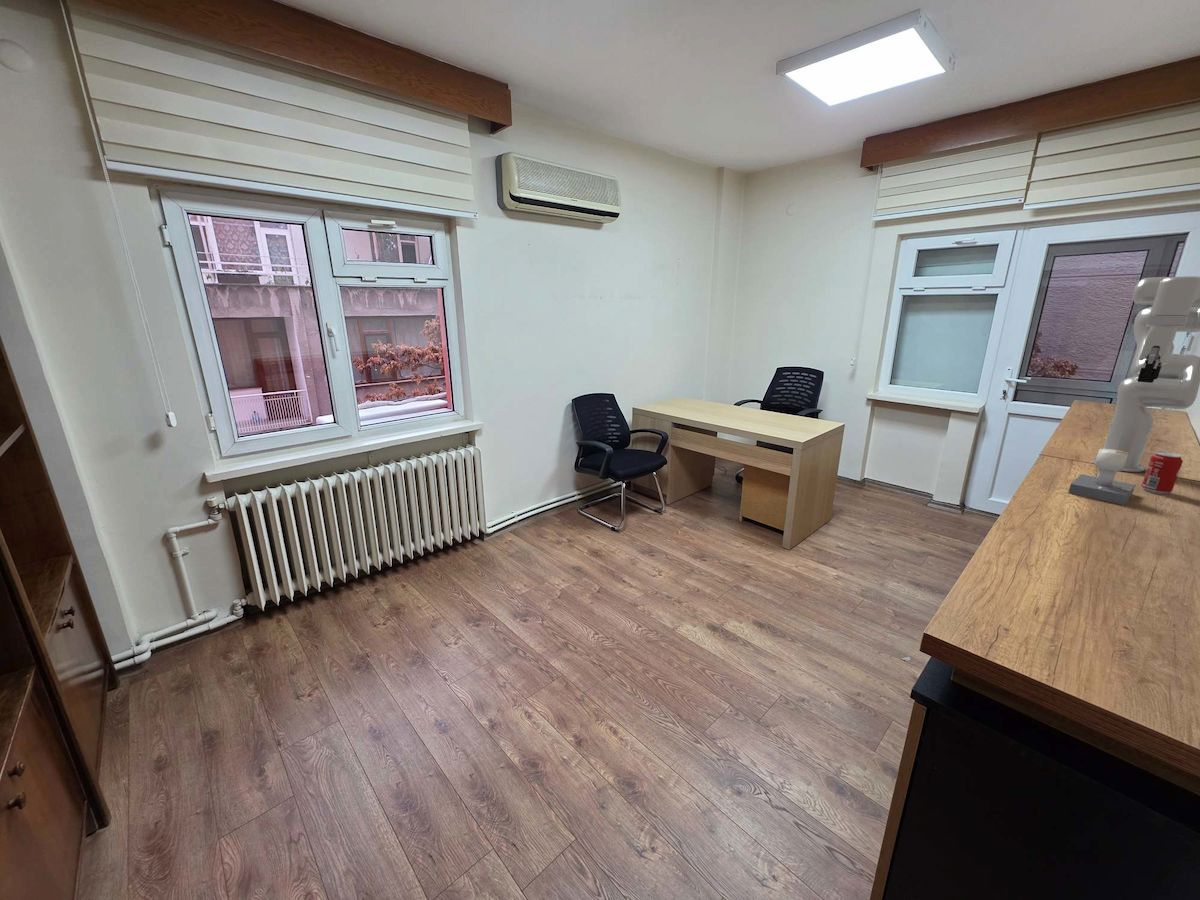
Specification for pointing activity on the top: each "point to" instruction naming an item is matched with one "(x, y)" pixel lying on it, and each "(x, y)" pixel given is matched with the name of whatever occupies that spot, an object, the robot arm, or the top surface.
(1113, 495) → the stub base
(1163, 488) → the beverage can
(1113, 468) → the white rounded dome
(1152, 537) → the top surface
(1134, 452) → the robot arm
